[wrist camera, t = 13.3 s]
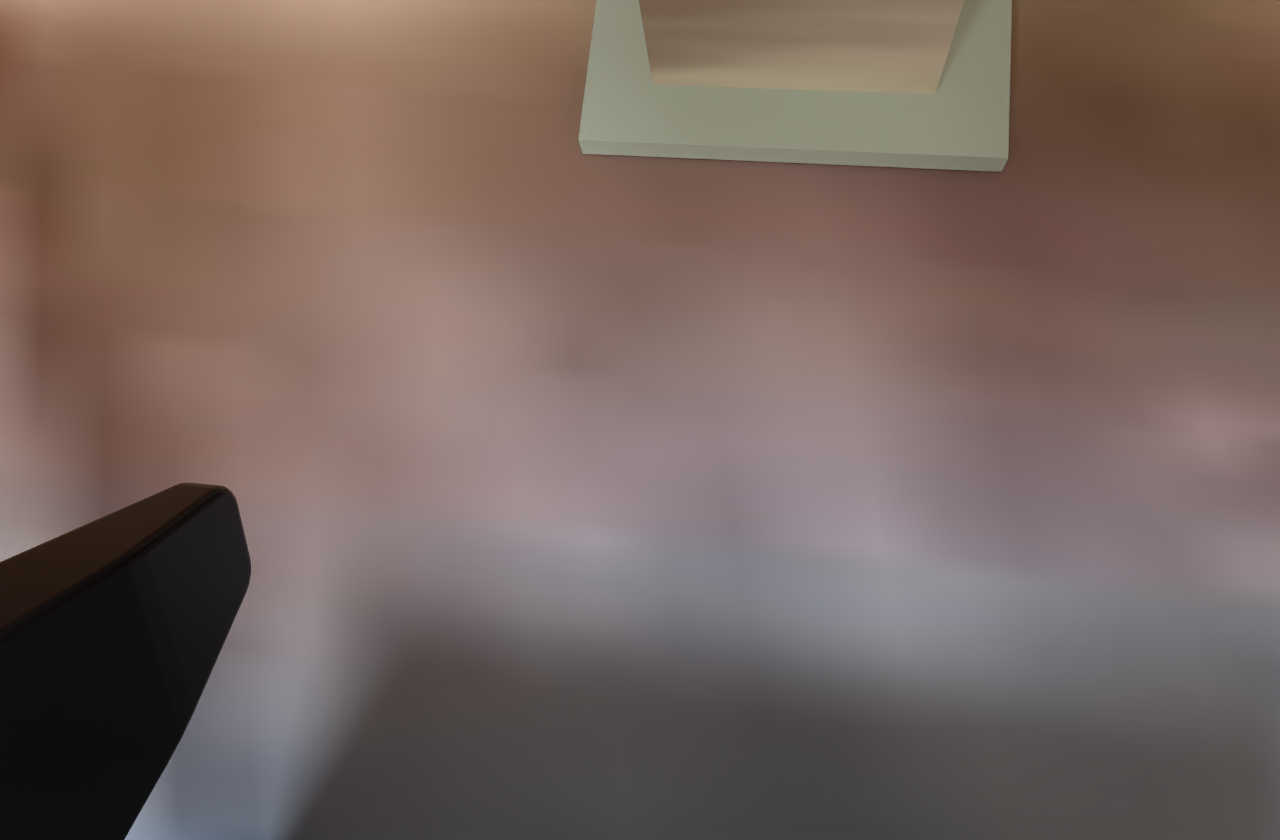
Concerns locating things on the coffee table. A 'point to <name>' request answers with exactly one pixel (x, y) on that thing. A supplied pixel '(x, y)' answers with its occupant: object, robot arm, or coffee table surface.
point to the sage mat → (803, 106)
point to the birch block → (800, 43)
